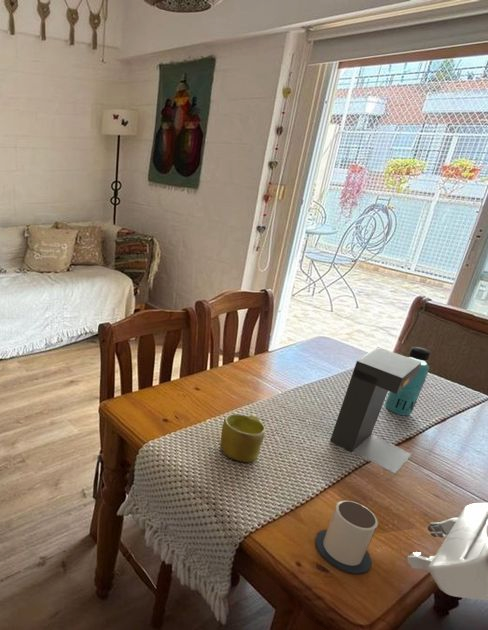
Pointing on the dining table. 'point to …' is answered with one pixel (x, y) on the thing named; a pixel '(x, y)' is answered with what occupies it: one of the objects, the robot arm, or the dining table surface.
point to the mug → (242, 437)
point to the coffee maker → (373, 406)
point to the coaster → (356, 569)
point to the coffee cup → (350, 532)
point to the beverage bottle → (410, 386)
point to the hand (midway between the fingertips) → (420, 544)
